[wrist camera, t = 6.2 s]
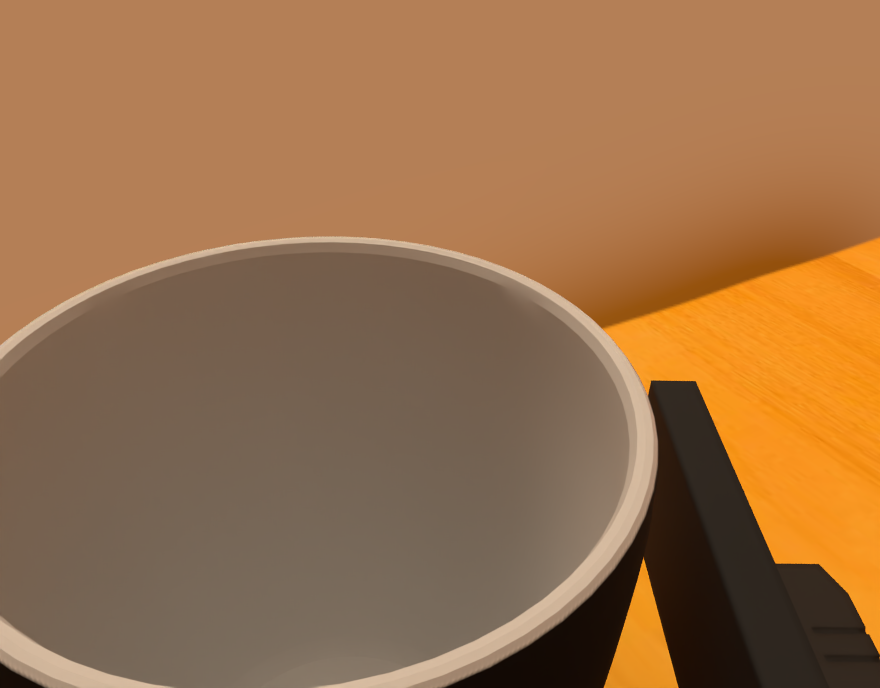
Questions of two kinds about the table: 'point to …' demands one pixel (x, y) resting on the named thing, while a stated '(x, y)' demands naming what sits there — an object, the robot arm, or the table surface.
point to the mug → (319, 477)
